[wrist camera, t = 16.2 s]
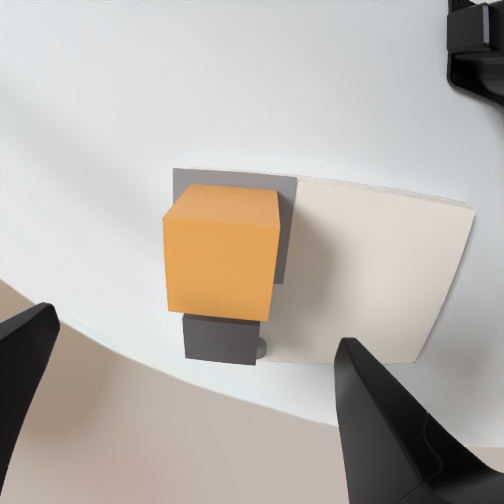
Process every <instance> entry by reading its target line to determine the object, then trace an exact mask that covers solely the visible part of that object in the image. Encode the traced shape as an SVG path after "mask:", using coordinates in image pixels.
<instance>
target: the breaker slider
mask: <svg viewBox="0 0 504 504" xmlns="http://www.w3.org/2000/svg"><path fill="white" fill-rule="evenodd" d="M182 321H183V334H184V346H185V357H186V358H189V359H197V360H205V361H213V362H223V363H232V364H243V365H255V364H256V356H257V348H258V339H259V331H260V321H255V320H244V319H234V318H224V317H214V316H205V315H197V314H188V313H184V315H183V318H182Z"/></svg>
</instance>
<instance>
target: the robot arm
mask: <svg viewBox="0 0 504 504" xmlns="http://www.w3.org/2000/svg"><path fill="white" fill-rule="evenodd" d="M457 2H458V4H457V3H456V2H455V0H448V7H449V14H448V15H447V50H448V62H447V80H448V82H449V83H450V84H451V85H452V86H455V87H458V88H460V89H463V90H465V91H468V92H470V93H473V94H475V95H477V96H480V97H482V98H484V99H487V100H489V101H491V102H493V103H495V104H497V105H500V106H502V107H504V0H501V1H497V2H493V3H490V4H488V3H485V2H484V3H481V4H475V3H473V2H471V1H469V0H457ZM453 75H455V76H456V81H454V79H453ZM59 330H60V323H59V319H58V317H57V314H56V310H55V308H54V306H53V305H52V304H50V303H45V302H42V303H39V304H37V305H35V306H33V307H31V308H29V309H27V310H25V311H23V312H22V313H19V314H17V315H16V316H13V317H12V318H10V319H8V320H6V321H4V322H2V323H0V495H1V491H2V487H3V484H4V480H5V476H6V473H7V470H8V465H9V463H10V459H11V456H12V453H13V450H14V447H15V444H16V441H17V438H18V436H19V433H20V430H21V427H22V425H23V422H24V419H25V417H26V414H27V411H28V409H29V406H30V404H31V402H32V399H33V397H34V394H35V392H36V389H37V387H38V385H39V382H40V380H41V378H42V376H43V374H44V371H45V369H46V366H47V364H48V361H49V358H50V355H51V352H52V349H53V347H54V344H55V341H56V339H57V336H58V333H59ZM334 374H335V395H336V411H337V418H338V424H339V431H340V437H341V444H342V451H343V458H344V465H345V472H346V480H347V488H348V496H349V504H504V473H501V472H498V471H496V470H493V469H492V468H490V467H489V466H487V465H486V464H485V463H483V462H482V461H481V460H480V459H478V457H476V456H475V455H474V454H473V453H472V452H470V451H469V450H468V449H467V448H466V447H464V446H463V445H462V444H461V443H460V442H459V441H457V440H456V439H455V438H454V437H453V436H452V435H451V434H450V433H448V432H447V431H446V430H445V429H444V428H443V427H442V426H441V425H440V424H439V423H438V422H437V421H436V420H435V419H434V418H433V417H432V415H431V414H430V413H427V410H426V409H425V408H424V407H423V406H422V405H421V404H420V403H419V402H418V401H417V400H416V399H415V398H414V397H413V396H412V395H411V394H410V393H409V392H408V391H407V390H406V389H405V388H404V387H403V386H402V384H401V383H400V382H399V381H398V380H397V379H396V378H395V377H394V376H393V375H392V374H391V373H390V372H389V371H388V370H387V369H386V368H385V367H384V366H383V365H382V364H381V363H380V362H379V361H378V360H377V359H376V358H375V357H374V356H373V355H372V354H371V353H370V352H369V351H368V350H367V349H366V348H365V347H364V346H363V344H362V343H361V342H360V341H359V340H358V339H356V338H354V337H343V338H341V340H340V343H339V346H338V349H337V352H336V355H335V358H334Z"/></svg>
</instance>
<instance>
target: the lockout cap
mask: <svg viewBox="0 0 504 504" xmlns="http://www.w3.org/2000/svg"><path fill="white" fill-rule="evenodd" d="M279 234H280V219H279V208H278V197H277V190H267V189H256V188H244V187H232V186H218V185H204V184H191V185H190V186H189V187H188V188H187V189H186V190H185V192H184V193H183V194H182V195H181V196H180V197H179V199H178V200H177V201H176V202H175V203H174V205H173V206H172V207H171V208H170V209H169V211H168V212H167V213H166V214H165V215H164V217H163V239H164V258H165V274H166V288H167V300H168V311H172V312H180V313H188V314H197V315H205V316H214V317H224V318H234V319H244V320H255V321H267V322H268V317H269V310H270V302H271V295H272V288H273V280H274V273H275V265H276V257H277V249H278V242H279Z"/></svg>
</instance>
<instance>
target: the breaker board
mask: <svg viewBox="0 0 504 504" xmlns="http://www.w3.org/2000/svg"><path fill="white" fill-rule="evenodd" d="M191 184H204V185H218V186H232V187H244V188H256V189H267V190H277V197H278V208H279V219H280V234H279V242H278V249H277V257H276V265H275V273H274V280H273V288H272V295H271V302H270V310H269V317H268V322H267V321H260V331H259V339H258V348H257V356H256V360H260V361H274V362H291V363H314V364H334V358H335V355H336V352H337V349H338V346H339V343H340V340H341V338H343V337H354V338H356V339H358V340H359V341H360V342H361V343H362V344H363V346H364V347H365V348H366V349H367V350H368V351H369V352H370V353H371V354H372V355H373V356H374V357H375V358H376V359H377V360H378V361H379V362H380V363H381V364H398V363H414V362H415V360H416V359H417V357H418V355H419V353H420V351H421V349H422V347H423V345H424V343H425V341H426V339H427V337H428V335H429V333H430V331H431V329H432V327H433V325H434V322H435V320H436V318H437V316H438V314H439V311H440V309H441V307H442V305H443V302H444V300H445V298H446V295H447V293H448V290H449V288H450V285H451V283H452V280H453V278H454V275H455V273H456V270H457V267H458V264H459V262H460V259H461V256H462V253H463V250H464V247H465V244H466V241H467V238H468V235H469V232H470V229H471V225H472V222H473V219H474V215H475V212H476V210H475V209H473V208H472V207H470V206H469V205H467V204H466V203H464V202H460V201H455V200H450V199H446V198H441V197H436V196H431V195H425V194H420V193H415V192H409V191H404V190H398V189H392V188H386V187H380V186H373V185H367V184H360V183H353V182H346V181H339V180H331V179H323V178H315V177H306V176H297V175H288V174H278V173H267V172H255V171H243V170H229V169H213V168H194V167H184V168H183V169H179V168H173V205H174V203H175V202H176V201H177V200H178V199H179V197H180V196H181V195H182V194H183V193H184V192H185V190H186V189H187V188H188V187H189V186H190V185H191ZM183 315H184V313H182V318H183Z"/></svg>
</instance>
